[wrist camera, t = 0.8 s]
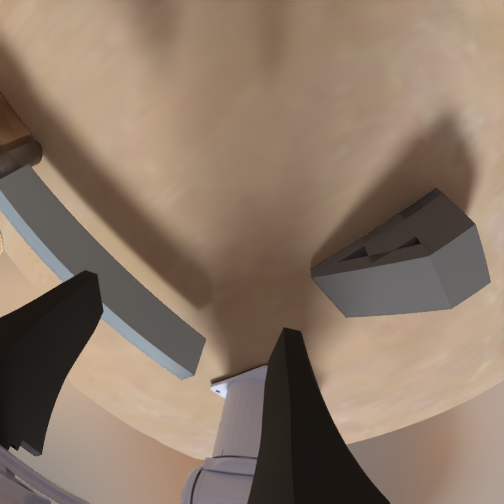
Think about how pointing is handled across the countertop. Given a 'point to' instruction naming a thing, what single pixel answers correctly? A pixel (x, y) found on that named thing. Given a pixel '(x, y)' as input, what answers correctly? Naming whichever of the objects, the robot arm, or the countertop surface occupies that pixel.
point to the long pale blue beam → (102, 263)
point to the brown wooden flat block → (15, 142)
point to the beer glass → (1, 244)
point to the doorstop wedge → (408, 263)
